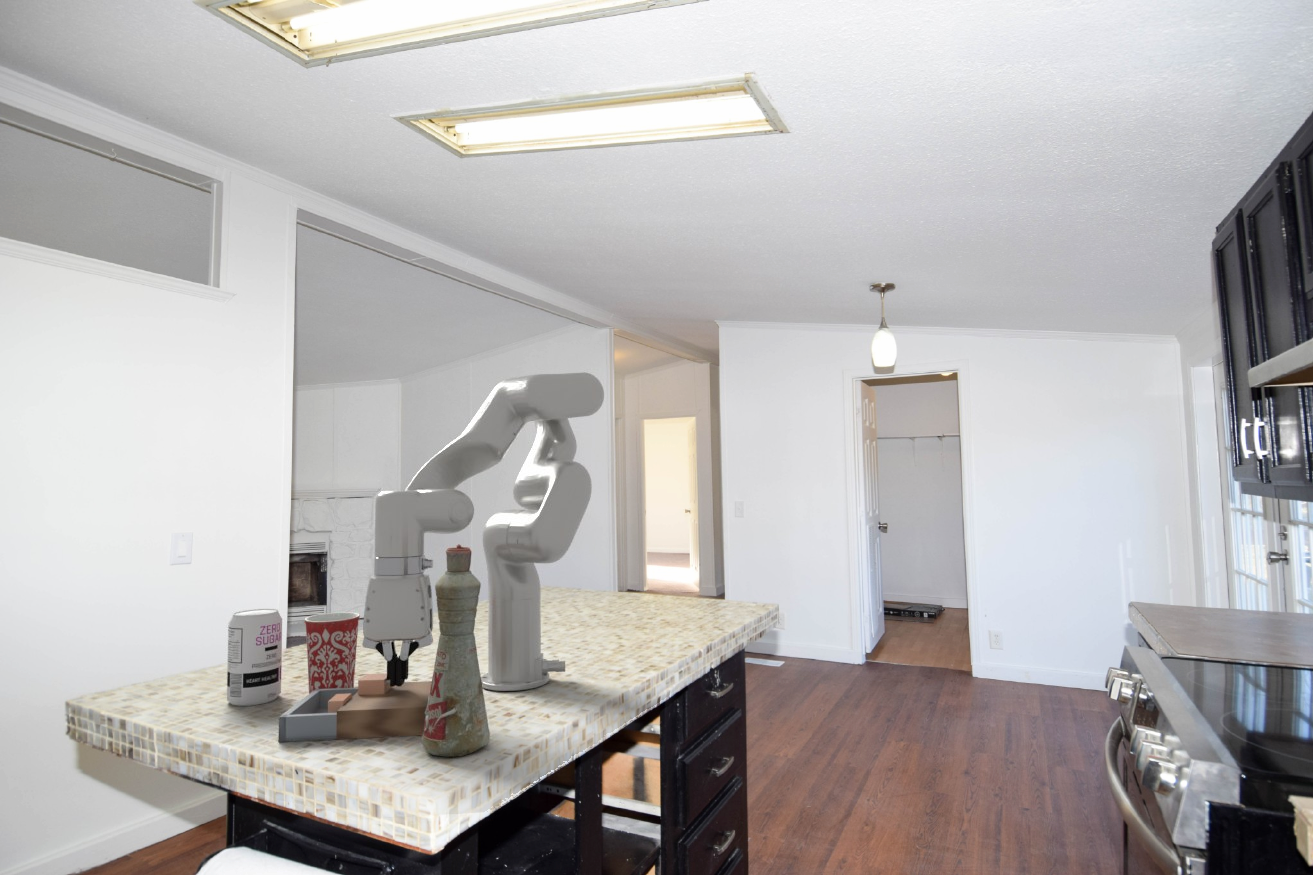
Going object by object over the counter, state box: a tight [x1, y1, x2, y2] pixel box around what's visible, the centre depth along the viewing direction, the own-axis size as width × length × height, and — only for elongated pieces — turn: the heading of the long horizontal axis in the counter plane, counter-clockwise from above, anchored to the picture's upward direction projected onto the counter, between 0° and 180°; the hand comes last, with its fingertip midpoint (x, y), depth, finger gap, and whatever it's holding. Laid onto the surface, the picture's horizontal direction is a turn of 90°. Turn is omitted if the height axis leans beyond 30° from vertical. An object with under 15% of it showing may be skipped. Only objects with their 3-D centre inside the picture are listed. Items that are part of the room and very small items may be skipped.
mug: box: [304, 611, 361, 695], centre depth 135 cm, size 13×9×14 cm
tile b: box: [357, 673, 392, 695], centre depth 119 cm, size 4×4×2 cm
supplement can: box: [226, 608, 283, 707], centre depth 130 cm, size 8×8×15 cm
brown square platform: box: [335, 680, 432, 740], centre depth 116 cm, size 13×15×4 cm
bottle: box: [421, 543, 491, 758], centre depth 104 cm, size 9×9×28 cm
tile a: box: [328, 693, 351, 713], centre depth 113 cm, size 4×4×2 cm
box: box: [277, 686, 358, 743], centre depth 115 cm, size 8×15×4 cm, turn 6°
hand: (397, 684), depth 119 cm, fingers closed
